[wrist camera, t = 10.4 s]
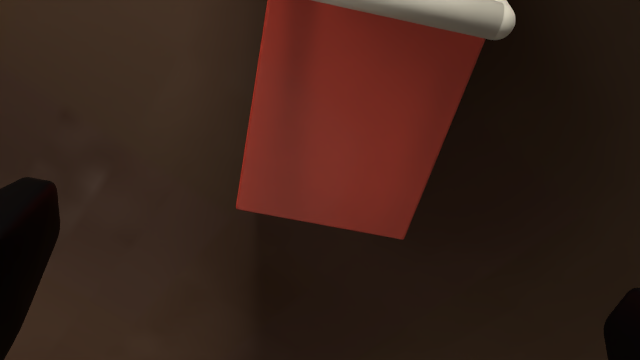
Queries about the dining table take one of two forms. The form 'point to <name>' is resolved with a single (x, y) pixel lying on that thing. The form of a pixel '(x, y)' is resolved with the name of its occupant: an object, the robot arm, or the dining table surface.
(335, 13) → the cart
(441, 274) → the dining table surface
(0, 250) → the robot arm
